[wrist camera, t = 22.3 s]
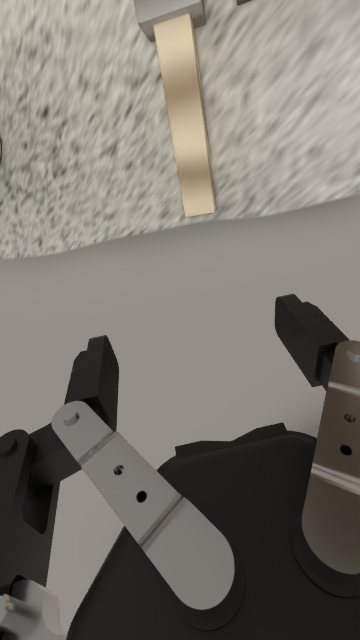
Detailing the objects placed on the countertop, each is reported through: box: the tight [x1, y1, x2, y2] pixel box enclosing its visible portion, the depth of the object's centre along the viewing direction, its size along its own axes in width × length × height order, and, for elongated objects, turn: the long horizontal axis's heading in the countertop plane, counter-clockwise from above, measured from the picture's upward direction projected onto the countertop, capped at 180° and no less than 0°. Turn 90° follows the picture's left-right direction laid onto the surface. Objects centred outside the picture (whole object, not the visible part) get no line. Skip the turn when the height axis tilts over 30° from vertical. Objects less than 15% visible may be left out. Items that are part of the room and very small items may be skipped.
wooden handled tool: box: [134, 0, 217, 217], centre depth 26 cm, size 20×5×4 cm, turn 11°
